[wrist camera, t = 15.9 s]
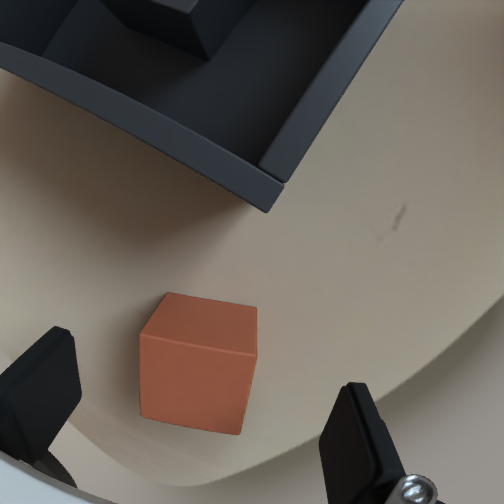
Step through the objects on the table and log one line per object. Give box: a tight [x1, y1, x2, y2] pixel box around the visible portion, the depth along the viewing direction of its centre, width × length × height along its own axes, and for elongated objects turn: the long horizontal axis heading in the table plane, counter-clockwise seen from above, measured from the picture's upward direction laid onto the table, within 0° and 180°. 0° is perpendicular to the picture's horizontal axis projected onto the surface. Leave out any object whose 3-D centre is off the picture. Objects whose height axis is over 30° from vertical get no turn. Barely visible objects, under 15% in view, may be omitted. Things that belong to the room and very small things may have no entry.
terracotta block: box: [139, 292, 257, 435], centre depth 12 cm, size 4×4×4 cm
